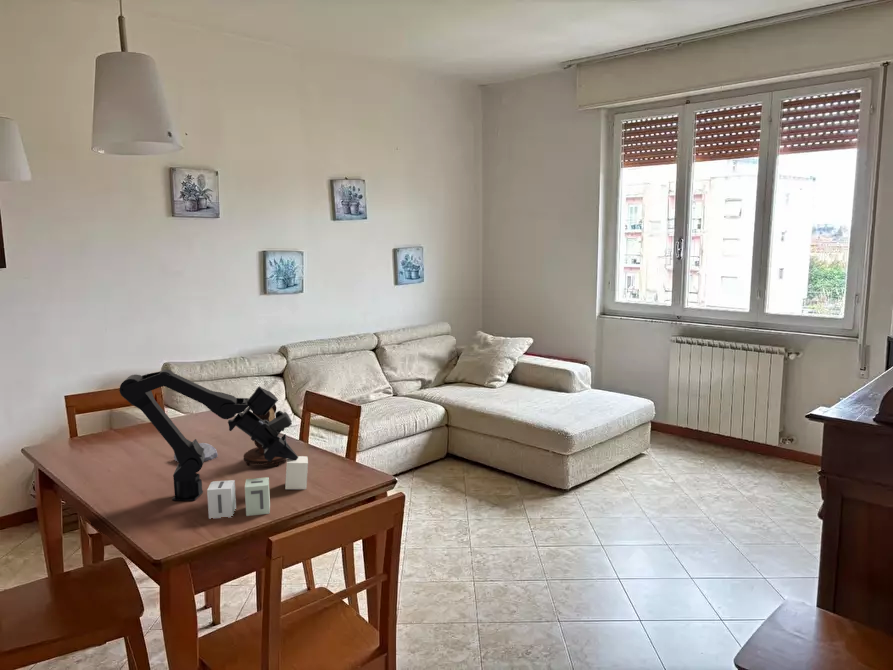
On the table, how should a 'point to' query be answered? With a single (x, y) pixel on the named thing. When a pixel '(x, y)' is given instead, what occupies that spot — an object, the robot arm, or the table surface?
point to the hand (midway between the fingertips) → (297, 458)
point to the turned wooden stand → (258, 453)
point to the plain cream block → (296, 473)
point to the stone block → (206, 452)
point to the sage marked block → (257, 496)
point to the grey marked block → (221, 499)
